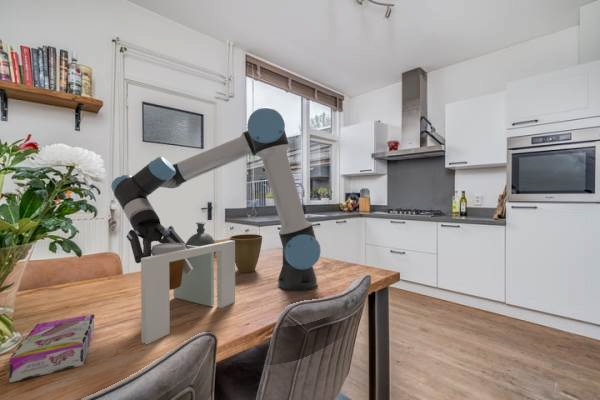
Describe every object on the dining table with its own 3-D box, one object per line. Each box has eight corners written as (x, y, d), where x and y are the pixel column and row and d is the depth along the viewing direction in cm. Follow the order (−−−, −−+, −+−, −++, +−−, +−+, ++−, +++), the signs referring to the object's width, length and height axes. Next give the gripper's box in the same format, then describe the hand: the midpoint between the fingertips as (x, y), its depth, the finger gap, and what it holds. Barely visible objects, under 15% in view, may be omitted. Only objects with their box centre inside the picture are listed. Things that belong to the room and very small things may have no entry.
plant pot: (232, 267, 135) (231, 234, 135) (262, 266, 137) (262, 234, 136) (227, 275, 120) (227, 239, 120) (262, 274, 122) (262, 238, 122)
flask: (222, 267, 135) (222, 222, 134) (187, 274, 123) (187, 224, 123) (212, 263, 143) (211, 220, 143) (178, 269, 131) (177, 222, 131)
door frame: (230, 300, 92) (230, 240, 92) (235, 301, 91) (235, 240, 91) (141, 342, 66) (140, 258, 65) (146, 344, 65) (146, 259, 64)
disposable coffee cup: (172, 293, 74) (172, 249, 74) (142, 290, 76) (142, 247, 76) (193, 282, 84) (193, 243, 84) (165, 280, 86) (165, 241, 86)
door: (215, 304, 88) (215, 247, 88) (209, 307, 86) (209, 249, 85) (178, 295, 96) (178, 243, 95) (171, 298, 93) (171, 244, 93)
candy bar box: (94, 312, 71) (84, 342, 56) (94, 331, 71) (84, 366, 57) (35, 322, 65) (7, 358, 51) (35, 343, 65) (8, 385, 51)
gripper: (167, 222, 97) (199, 274, 89) (99, 227, 78) (133, 294, 70) (177, 207, 94) (211, 259, 86) (110, 209, 75) (146, 277, 68)
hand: (176, 275), depth 78 cm, fingers closed on disposable coffee cup, 8 cm apart
